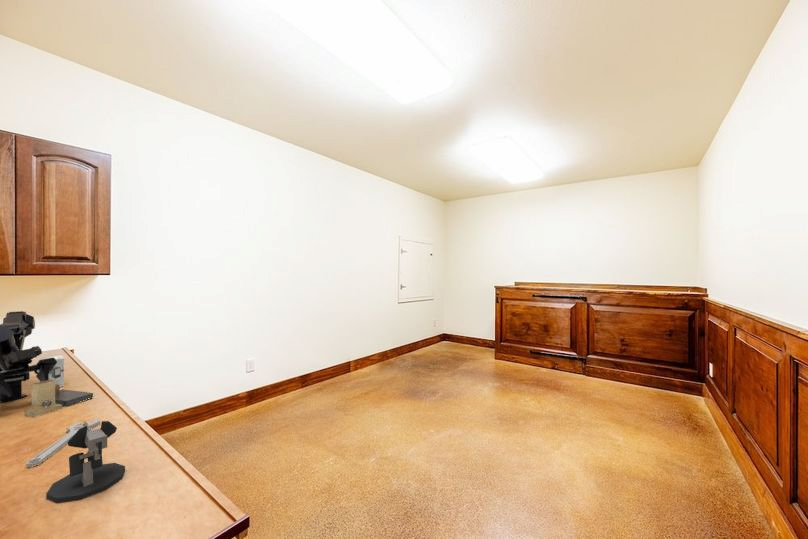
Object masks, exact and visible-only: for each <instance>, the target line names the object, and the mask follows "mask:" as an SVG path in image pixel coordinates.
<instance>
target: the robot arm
mask: <svg viewBox="0 0 808 539" xmlns="http://www.w3.org/2000/svg"><path fill="white" fill-rule="evenodd" d="M35 328H36V321H35V317H34V316H32V315H30V314H27V312H26V311H19V310H18V311H8V312H7V313H6V315H5V317H3V318H2V323H0V403H6V402H10V401H11V402H12V401H14V400H18V399H21V398H26V397H28V394H23V393H22V391H23V390H22V389H23V388H22V387H23V382H27V381H28V380H30V376H31V375H30V373H31V372H34V374H36V375H35V377H36V378H37V379H38V381H39V382H42V381H46V380H49V372H50V371H51V370H52V369H53V367H54V366H55V365H56V363H57V361H56V359H55V358H47V357H46V358H47V359H45V358H43V359H39V360H38V362H37V363H36V364H33V365H29V364H32V362H33V359H34V358H37V357H39V356H41V355H42V354H43V351H42V348H41V347H40V346H39V345H37V346H32V347H30V348H27V349H26V348H25V349H23V348H24V344H25V339H26V337H28V336H30V335H31V334H32V333H33V330H34V329H35Z"/></svg>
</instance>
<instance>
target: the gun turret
mask: <svg viewBox="0 0 808 539" xmlns="http://www.w3.org/2000/svg"><path fill="white" fill-rule="evenodd" d="M88 423H89V422H88ZM88 423H87V421H84V422H83V424H81V425H82V426H83V427H82V428H80V429H79V430H78V431H77V432H76V433H75V434H74V435H73V437H72V438H71V439H70V440H69V441H68V442H67V443H68V444H67V446H68V447H72V448H79V449H87V451H86V452H87V453H84V452H78V453H75V454H72V455H70V456H69V457H68V463H69V464H68V465H69V467H68V468H69V474H68V475H66V476H63V478H60V479H59V480H57V481H55V482H53V483H52V484H51V486H50V487H49V489H48V491H47V492H46V496H45V499H47V500H49V501H50V502H51V501H52V502H53V503H54V504H61V503H66V502H67V503H68V502H73V501H80V500H83V499H86V498H88V497H91V496H94V495H96V494H99V493H102V492H104V491H106V490H108V489H109V488H111V487H113V485H115V484H117V483H119V482H120V481H121V480H123V478H124V475H125V471H126V465H123V464H119V463H117V462H109V463H104V462H103V449H107V448H108V438H110V437H111V436H113V435H114V434H115V433H116V432H117V430H118V428H117V426H115V425H114V424H113V423H111V421H110V420H102V421H101V422H100V428H97V429H95V428H94V429H91V428H90V427H89V425H88ZM86 459H87V461H86V462H85V460H86ZM119 480H120V481H119ZM116 482H117V483H116Z"/></svg>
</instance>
